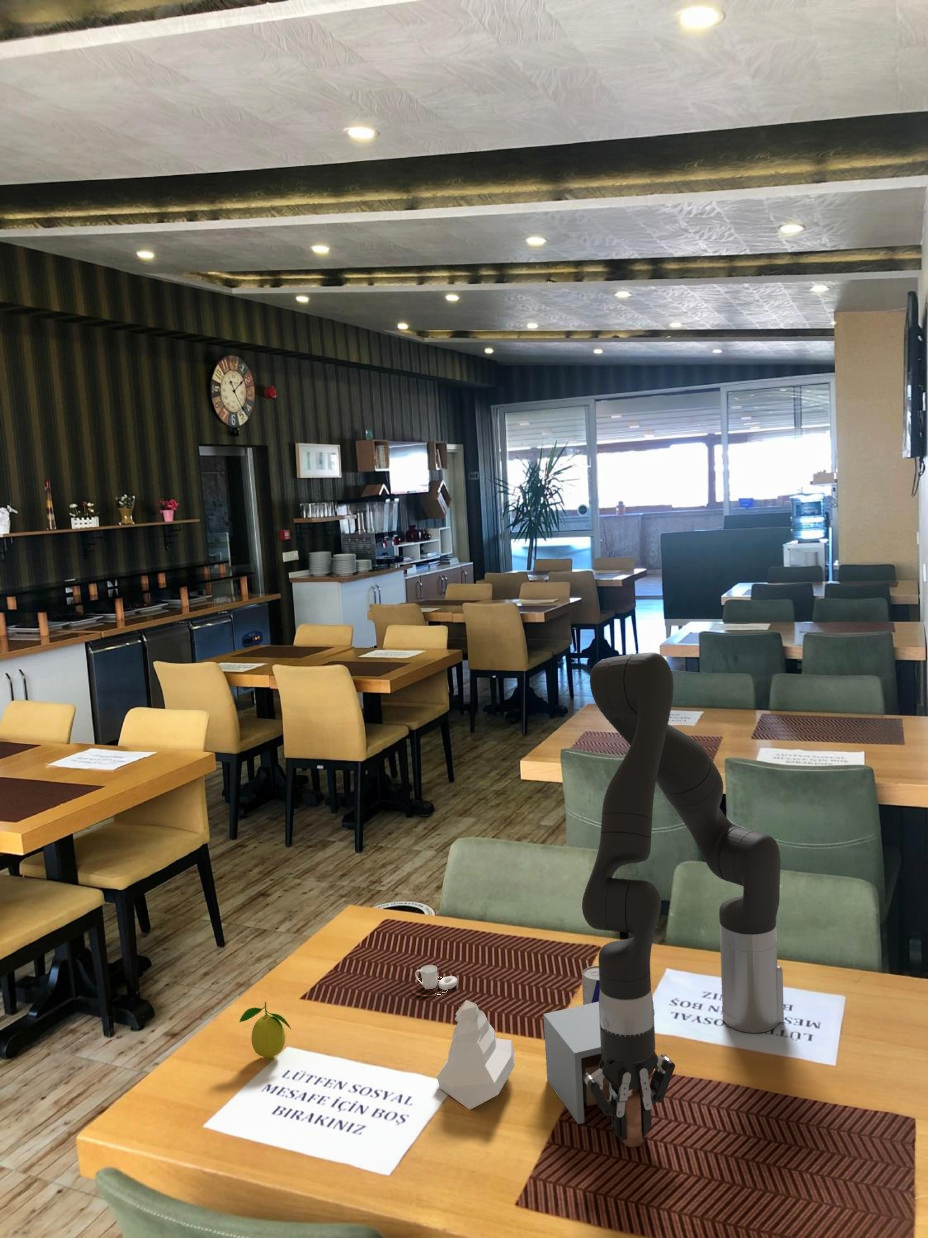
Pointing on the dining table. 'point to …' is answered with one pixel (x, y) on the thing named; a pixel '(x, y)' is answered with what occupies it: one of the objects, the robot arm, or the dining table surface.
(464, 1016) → the white stepped sculpture
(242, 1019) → the lemon
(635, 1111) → the brown square-headed paddle
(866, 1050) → the dining table surface
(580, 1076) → the block
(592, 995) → the energy drink
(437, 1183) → the dining table surface
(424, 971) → the mug and donut
